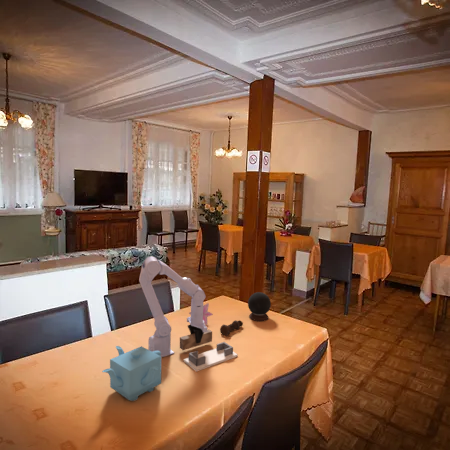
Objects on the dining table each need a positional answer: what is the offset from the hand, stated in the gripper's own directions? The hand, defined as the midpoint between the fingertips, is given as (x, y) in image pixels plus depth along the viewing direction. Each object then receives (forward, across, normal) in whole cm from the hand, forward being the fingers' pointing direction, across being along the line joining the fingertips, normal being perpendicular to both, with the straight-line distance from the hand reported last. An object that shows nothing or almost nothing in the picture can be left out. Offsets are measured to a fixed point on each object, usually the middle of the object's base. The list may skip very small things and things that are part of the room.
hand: (196, 341), depth 161 cm
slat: (+2, 0, 0) cm, 2 cm away
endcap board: (+3, -12, 0) cm, 12 cm away
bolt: (+4, +6, -26) cm, 27 cm away
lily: (+4, +24, -19) cm, 31 cm away
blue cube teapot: (+4, -15, +37) cm, 40 cm away
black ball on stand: (+3, +11, -50) cm, 51 cm away
